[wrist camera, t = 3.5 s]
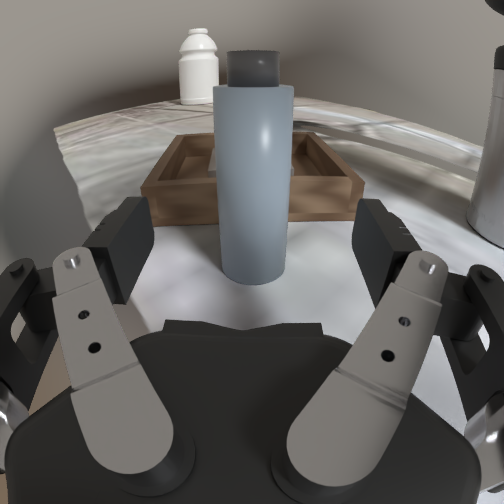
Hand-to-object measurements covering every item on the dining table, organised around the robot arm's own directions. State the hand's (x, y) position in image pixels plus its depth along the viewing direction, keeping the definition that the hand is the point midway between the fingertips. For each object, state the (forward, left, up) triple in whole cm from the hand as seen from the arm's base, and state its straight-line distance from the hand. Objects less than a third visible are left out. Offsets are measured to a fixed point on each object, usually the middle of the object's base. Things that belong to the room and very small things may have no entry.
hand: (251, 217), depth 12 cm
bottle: (+12, -103, -8) cm, 104 cm away
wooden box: (-1, -23, -8) cm, 24 cm away
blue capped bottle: (-1, -7, -8) cm, 11 cm away
